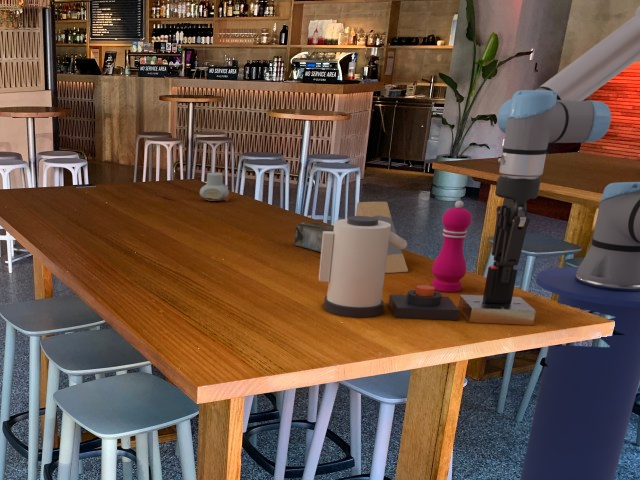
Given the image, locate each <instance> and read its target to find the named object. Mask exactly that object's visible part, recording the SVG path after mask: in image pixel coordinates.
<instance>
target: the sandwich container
mask: <svg viewBox="0 0 640 480" xmlns="http://www.w3.org/2000/svg"><path fill="white" fill-rule="evenodd" d="M355 210H356V211H355V216H369V217H375V218H377V219H378V220H379V221H384V222H387V223H389V224H391V228H390V231H391V232H393V233H394V234H396V235H398V234H397V231H396V228H395V225H394V222H393V218H392V215H391V211H390V208H389V203H388V201H358V202H357V203H356V209H355ZM392 273H393V274H394V273H409V269H408V267H407V262H406V260H405V256H404V254H403V251H402V249H399V248H397V247H396V246H394V245H392V244H391V243H389V244H388V252H387V260H386V268H385V274H392Z"/></svg>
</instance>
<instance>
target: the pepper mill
mask: <svg viewBox="0 0 640 480" xmlns="http://www.w3.org/2000/svg"><path fill="white" fill-rule="evenodd" d="M441 219H442V225H443V226H444V228H442V229H443V230H442V231H443V232H442V237H443V243H442V247H441V249H440V251H439V253H438V255H437V257H436V258H435V260H434V262H433V264H432V268H431V273H432V275H433V276H434V279H432V282H431V286H433V287H435V291H436V292H443V293H457V292H460V291H461V289H462V284H463V283H462V281H461V280H462V279H463V278H464V277H465V276H466V273H467V263H466V259H465V255H464V240H465V238H466V237H467V233H468V230H467V229H468V228H469V226H471V224H472V221H473V220H472V214H471V212H470V211H469V210H468V209H466V208H464V202H463V200H456V202H455V203H454V207H451V208H449V209H447V210H446V211H445V212H444V213H443V215H442V218H441Z"/></svg>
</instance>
